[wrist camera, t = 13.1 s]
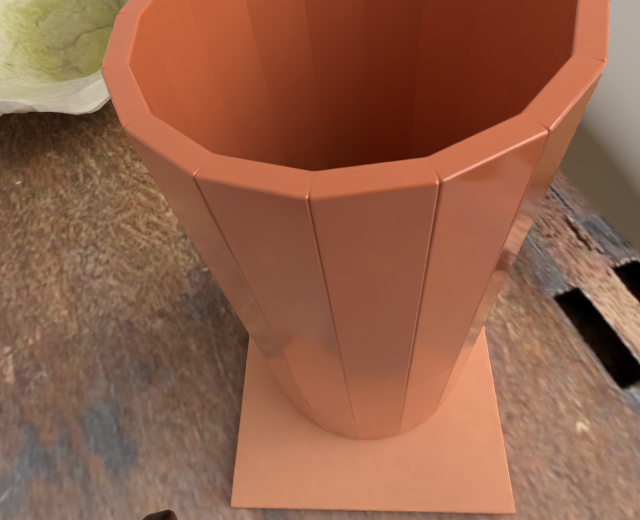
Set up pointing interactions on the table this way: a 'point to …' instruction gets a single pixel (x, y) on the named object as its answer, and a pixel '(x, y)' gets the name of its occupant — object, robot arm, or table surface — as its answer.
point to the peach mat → (373, 453)
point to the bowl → (54, 54)
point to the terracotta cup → (357, 172)
